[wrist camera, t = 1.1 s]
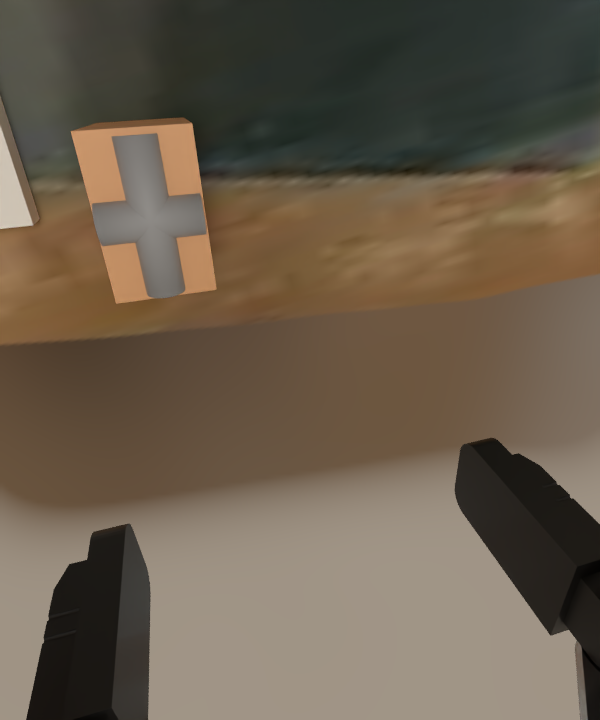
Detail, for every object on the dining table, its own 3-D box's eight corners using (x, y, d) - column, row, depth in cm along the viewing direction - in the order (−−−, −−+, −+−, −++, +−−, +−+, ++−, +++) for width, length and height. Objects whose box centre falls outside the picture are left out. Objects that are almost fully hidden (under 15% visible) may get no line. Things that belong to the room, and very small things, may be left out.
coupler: (96, 122, 23) (66, 132, 16) (183, 117, 24) (193, 123, 16) (127, 251, 26) (114, 310, 19) (202, 242, 27) (218, 296, 20)
